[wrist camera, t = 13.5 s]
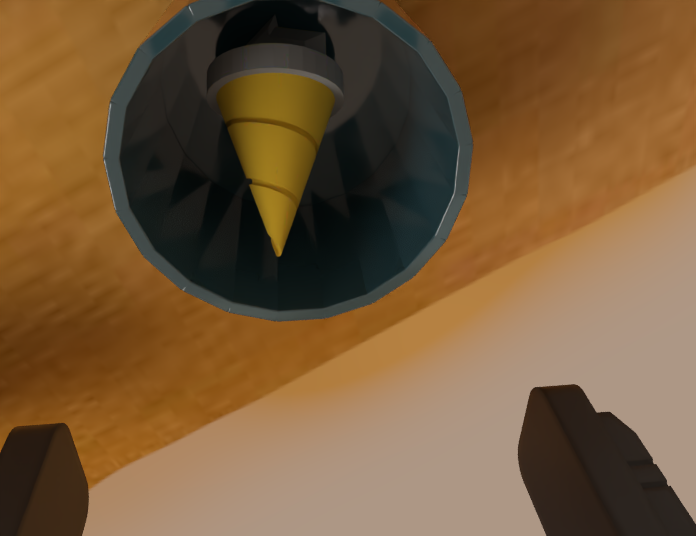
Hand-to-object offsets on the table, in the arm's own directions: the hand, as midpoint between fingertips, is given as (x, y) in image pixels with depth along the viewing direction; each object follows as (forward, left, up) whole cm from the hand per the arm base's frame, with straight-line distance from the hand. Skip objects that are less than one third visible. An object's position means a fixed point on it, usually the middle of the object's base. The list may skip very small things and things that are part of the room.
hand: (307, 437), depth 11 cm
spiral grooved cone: (0, 0, -19) cm, 19 cm away
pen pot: (0, 0, -20) cm, 20 cm away
